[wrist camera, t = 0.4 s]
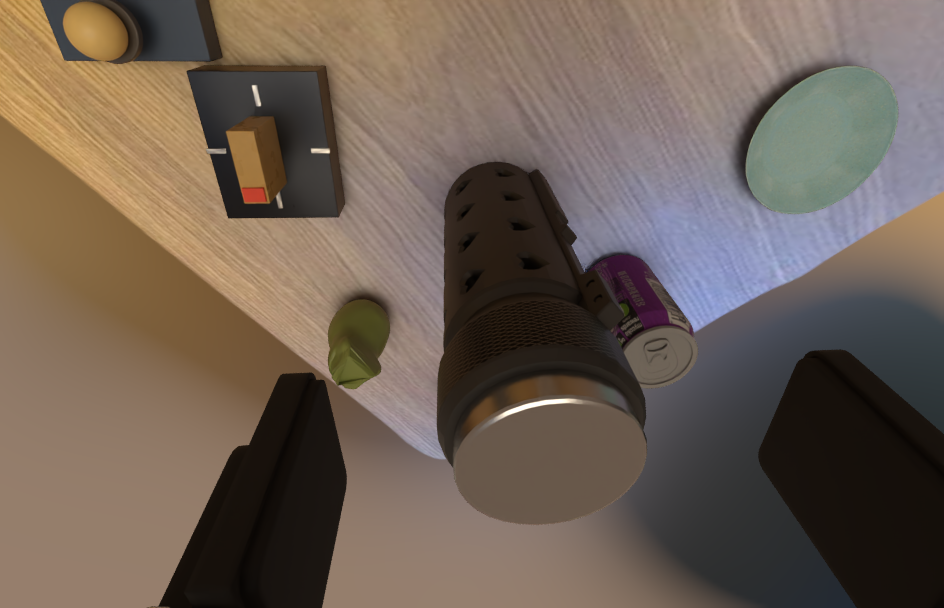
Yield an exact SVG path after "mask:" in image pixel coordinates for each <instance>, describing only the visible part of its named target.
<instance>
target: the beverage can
mask: <svg viewBox="0 0 944 608" xmlns="http://www.w3.org/2000/svg"><path fill="white" fill-rule="evenodd" d="M593 270H597V271H598V273H599V274H600V275H601V276H602V277H603V278H604V280H605V281H606V282H607V283H608V285H609V287H610V289H611V291H612V293H613V294H614V296H615V298H616V300H617V302H618V303H619V305H620V307H621V309H622V311H623V312H624V318H623V319H622V320H621V321H620V322H619V323H618V324H617V325H616V326H615V327H614V328H613V329H612V330H611V333H612V334H613V335H614V336H615V337H616V338H617V340H618V342H619V344H620V346H621V348H622V350H623V352H624V354H625V356H626V358H627V360H628V362H629V364H630V366H631V368H632V370H633V372H634V374H635V376H636V378H637V380H638V382H639V384H640V387H641V388H659V387H663V386H667V385H669V384H672V383H674V382H676V381H677V380H679V379H681V378H682V377H683V376H684V375H686V374H687V373H688V372H689V371H690V369H691V368H692V367H693V365H694V363H695V361H696V359H697V355H698V348H697V344H696V341H695V339H694V332H693V328H692V326H691V324H690V322H689V321H688V319H687V318H686V316H685V315H684V314H683V312H682V311H681V310H680V308H679V307H678V306H677V304H676V303H675V302H674V300H673V299H672V297H671V296H670V295H669V293H668V292H667V291H666V289H665V288H664V287H663V285H662V284H661V282H660V281H659V280H658V278H657V277H656V276H655V274H654V273H653V272H652V270H651V269H650V268H649V266H648V265H647V264H646V263H645V262H644V261H643V260H641V259H639V258H637V257H634V256H630V255H617V256H612V257H609V258H606V259H604V260H602V261H600V262H599V263H597V264H596V265H595V266H593V267H592V268H591V269H590V270H589V272H590V271H593Z"/></svg>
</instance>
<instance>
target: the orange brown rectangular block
mask: <svg viewBox="0 0 944 608" xmlns="http://www.w3.org/2000/svg"><path fill="white" fill-rule="evenodd" d="M226 134H227V138H228V142H229V145H230V149H231V153H232V157H233V161H234V165H235V169H236V172H237V176H238V180H239V184H240V188H241V192H242V196H243V199H244V203H245V204H257V203H271V201H272V200H273V199H274V198H275V197H276V195H277V194H278V193H279V192H280V191H281V189H282V188H283V187H284V186H285V185H286V183H287V179H286V174H285V169H284V165H283V160H282V155H281V150H280V145H279V140H278V135H277V130H276V125H275V120H274V117H273V116H249V117H248V118H246V119H244V120H243V121H241V122H240V123H238V124H237V125H235V126H233V127H232V128H230V129H229V130H227V131H226Z"/></svg>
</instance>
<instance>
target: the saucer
mask: <svg viewBox="0 0 944 608" xmlns="http://www.w3.org/2000/svg"><path fill="white" fill-rule="evenodd" d="M897 122H898V104H897V99H896V96H895V93H894V90H893V89H892V86H891V85H890V84H889V82H888V81H887V80H886V79H885V78H884V77H883V76H881V75H880V74H879V73H877V72H875V71H873V70H872V69H868V68H865V67H859V66H842V67H841V66H840V67H835V68H831V69H828V70H825V71H822V72H819V73H816V74H814V75H812V76H810V77H808V78H806V79H805V80H803V81H801V82H800V83H798V84H797V85H795V86H794V87H792V88H791V89H790V90H789V91H787V92H786V93H785V94H784V95H783V96H782V97H780V98H779V99H778V100H777V101H776V102H775V103H774V104H773V105H772V107H771V108H770V109H769V110H768V111H767V112H766V114H765V116H764V117H763V118H762V120H761V121H760V123H759V125H758V126H757V128H756V130H755V132H754V135H753V137H752V139H751V142H750V145H749V148H748V152H747V158H746V166H745V167H746V168H745V170H746V178H747V182H748V185H749V188H750V190H751V192H752V194H753V195H754V197H755V198H756V199H757V200H758V201H759V202H760V203H761V204H762V205H764V206H765V207H767V208H768V209H770V210H773V211H775V212H779V213H785V214H803V213H809V212H813V211H816V210H820V209H823V208H825V207H827V206H830V205H832V204H834V203H836V202H838V201H840V200H841V199H843V198H844V197H846V196H847V195H849V194H850V193H851V192H853V191H854V190H855V189H856V188H858V187H859V186H860V185H861V184H862V183H863V182H864V181H865V180H866V179H867V178H868V177H869V176H870V175H871V174H872V173H873V171H874V170H875V169H876V168H877V167H878V165H879V164H880V163H881V161H882V160H883V158H884V156H885V154H886V153H887V151H888V149H889V147H890V145H891V143H892V141H893V138H894V135H895V131H896V127H897Z"/></svg>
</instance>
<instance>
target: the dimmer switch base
mask: <svg viewBox="0 0 944 608" xmlns="http://www.w3.org/2000/svg"><path fill="white" fill-rule="evenodd" d="M187 75H188V78H189V82H190V85H191V89H192V92H193V96H194V99H195V103H196V106H197V110H198V113H199V117H200V120H201V124H202V127H203V131H204V135H205V138H206V142H207V145H208V148H207V149H206V151H207V154H210V156H211V159H212V163H213V166H214V170H215V173H216V177H217V180H218V184H219V187H220V191H221V195H222V198H223V202H224V205H225V209H226V212H227V216H228V218H315V217H339V216H340V214H341V211H342V209H343V207H344V205H345V200H344V193H343V186H342V179H341V172H340V164H339V157H338V150H337V143H336V136H335V129H334V122H333V115H332V107H331V100H330V93H329V86H328V79H327V72H326V66H229V65H204V66H201V67H198V68H195V69H191V70H188V71H187ZM249 116H273V117H274V120H275V125H276V130H277V135H278V140H279V145H280V150H281V155H282V160H283V165H284V169H285V174H286V179H287V183H286V185H285V186H284V187H283V188H282V189H281V191H280V192H279V193H278V194H277V195H276V197H275V198H274V199H273V200H272V201H271V203H257V204H245V203H244V199H243V196H242V192H241V188H240V184H239V180H238V176H237V172H236V169H235V165H234V161H233V157H232V153H231V149H230V145H229V142H228V138H227V134H226V131H227V130H229V129H230V128H232V127H233V126H235V125H237V124H238V123H240V122H241V121H243V120H244V119H246V118H248V117H249Z"/></svg>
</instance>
